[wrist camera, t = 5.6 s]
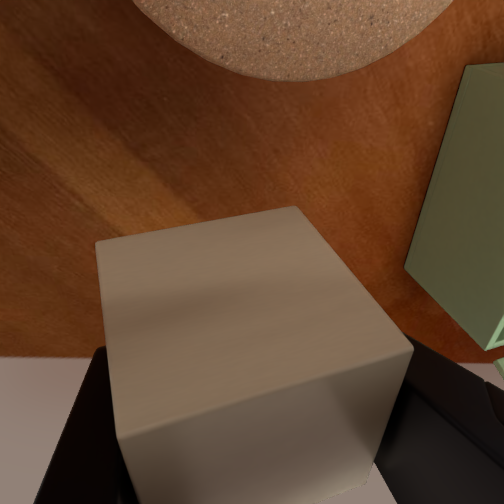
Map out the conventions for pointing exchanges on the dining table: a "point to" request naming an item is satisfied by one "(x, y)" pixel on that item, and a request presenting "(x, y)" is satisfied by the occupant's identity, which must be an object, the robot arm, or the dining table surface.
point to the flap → (500, 366)
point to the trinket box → (292, 32)
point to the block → (245, 362)
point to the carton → (467, 211)
